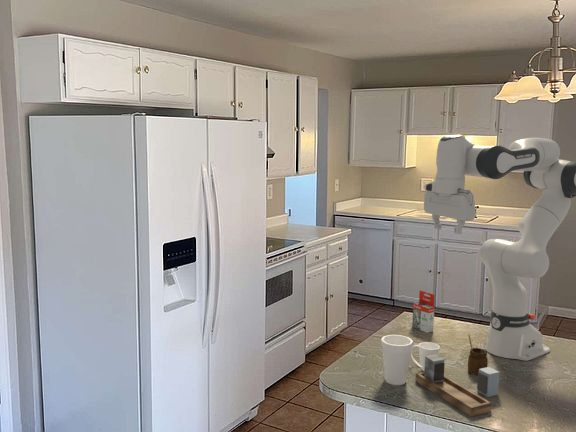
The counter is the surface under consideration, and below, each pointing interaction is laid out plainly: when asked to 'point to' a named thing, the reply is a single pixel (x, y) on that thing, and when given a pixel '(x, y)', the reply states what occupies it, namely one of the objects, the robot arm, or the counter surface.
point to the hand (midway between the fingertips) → (447, 231)
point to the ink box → (424, 312)
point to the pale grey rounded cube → (488, 381)
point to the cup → (425, 352)
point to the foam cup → (396, 358)
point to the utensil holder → (477, 359)
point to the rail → (450, 388)
